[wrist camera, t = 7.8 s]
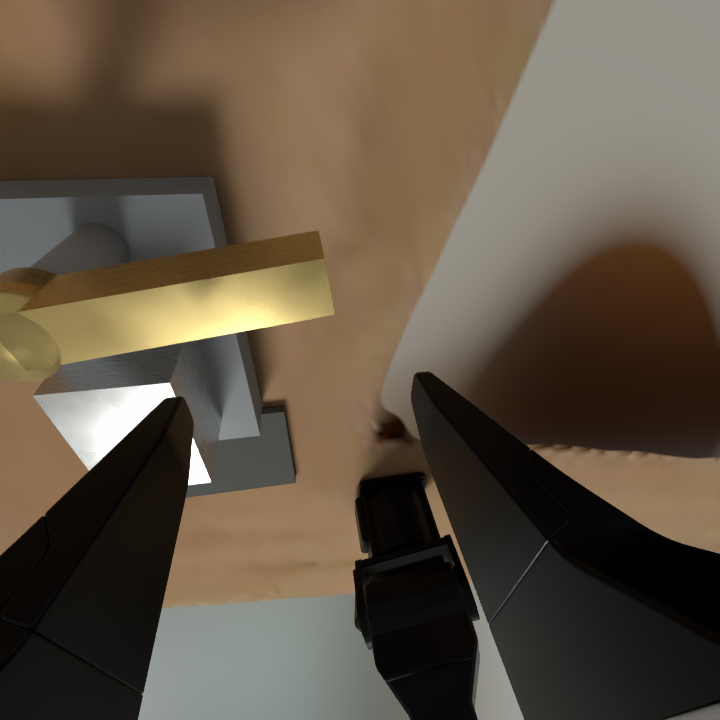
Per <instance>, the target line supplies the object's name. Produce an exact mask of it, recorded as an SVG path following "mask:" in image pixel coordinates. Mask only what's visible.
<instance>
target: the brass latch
mask: <svg viewBox="0 0 720 720" xmlns="http://www.w3.org/2000/svg"><path fill="white" fill-rule="evenodd" d="M330 315H335V313H334V308H333V302H332V297H331V291H330V286H329V280H328V275H327V269H326V264H325V258H324V254H323V249H322V244H321V240H320V235H319V231H312V232H306V233H300V234H294V235H288V236H283V237H277V238H271V239H265V240H259V241H253V242H247V243H241V244H235V245H230V246H224V247H218V248H212V249H206V250H200V251H194V252H188V253H183V254H177V255H171V256H165V257H159V258H153V259H147V260H141V261H135V262H130V263H124V264H118V265H112V266H106V267H100V268H94V269H88V270H82V271H77V272H71V273H65V274H59V275H56V274H53V273H51V272H48V271H45V270H41V269H36V268H28V267H21V268H14V269H10V270H7V271H5V272H3V273H1V274H0V379H1V380H5V381H12V382H34V381H39V380H43V379H46V378H48V377H50V376H51V375H53V374H54V373H55V372H56V371H57V370H58V369H59V367H60V366H61V365H63V364H69V363H74V362H80V361H85V360H90V359H96V358H101V357H107V356H112V355H118V354H123V353H129V352H134V351H139V350H145V349H150V348H156V347H161V346H167V345H172V344H178V343H183V342H188V341H194V340H199V339H205V338H210V337H216V336H221V335H227V334H232V333H237V332H243V331H248V330H254V329H259V328H265V327H270V326H276V325H281V324H286V323H292V322H297V321H303V320H308V319H314V318H319V317H325V316H330Z"/></svg>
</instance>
